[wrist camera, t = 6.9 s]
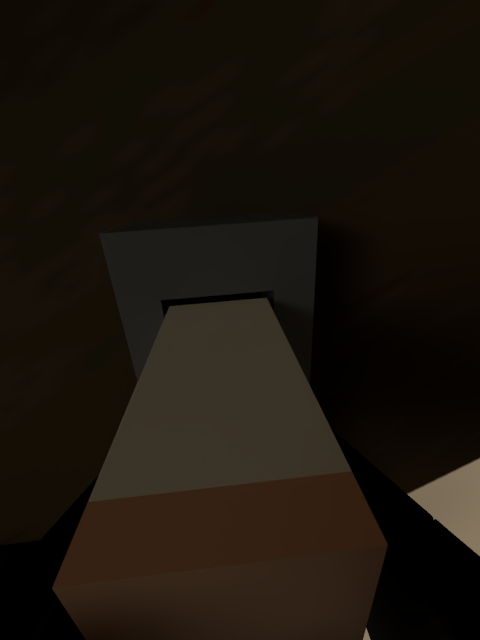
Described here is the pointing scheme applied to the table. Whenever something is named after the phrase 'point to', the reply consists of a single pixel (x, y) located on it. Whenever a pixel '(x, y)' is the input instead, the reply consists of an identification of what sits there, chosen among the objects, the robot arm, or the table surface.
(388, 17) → the table surface
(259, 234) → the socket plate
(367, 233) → the table surface
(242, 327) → the brown rectangular block
